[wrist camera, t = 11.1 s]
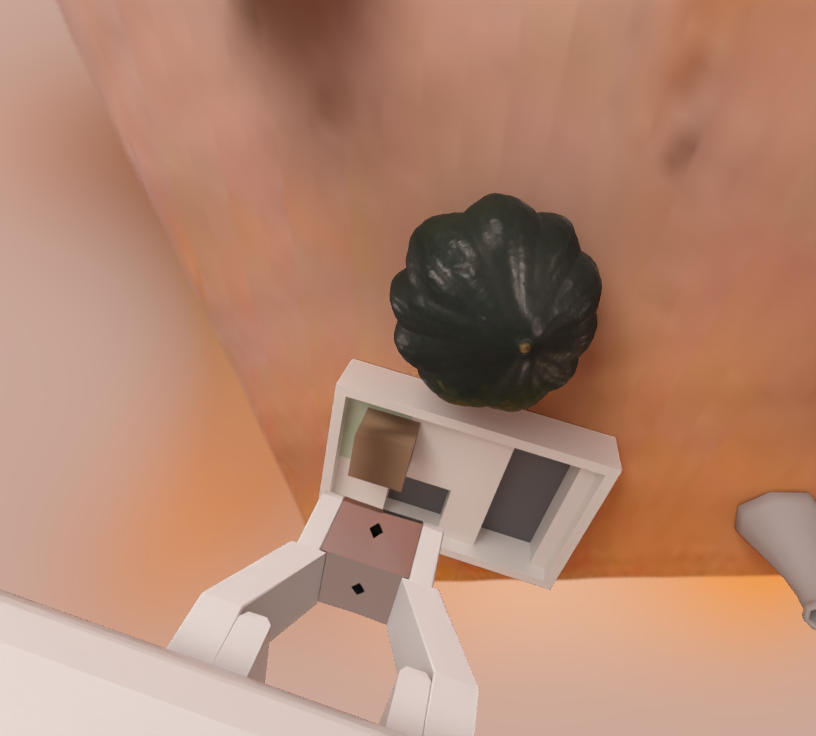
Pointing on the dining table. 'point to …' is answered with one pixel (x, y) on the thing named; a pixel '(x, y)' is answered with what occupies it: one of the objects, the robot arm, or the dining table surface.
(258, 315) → the dining table surface
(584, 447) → the track
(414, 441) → the walnut block
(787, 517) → the flask
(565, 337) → the squash
